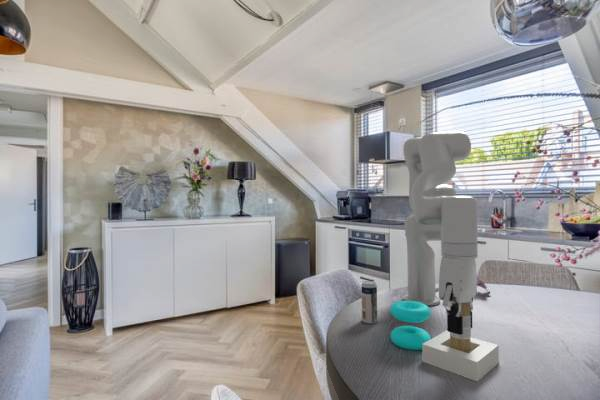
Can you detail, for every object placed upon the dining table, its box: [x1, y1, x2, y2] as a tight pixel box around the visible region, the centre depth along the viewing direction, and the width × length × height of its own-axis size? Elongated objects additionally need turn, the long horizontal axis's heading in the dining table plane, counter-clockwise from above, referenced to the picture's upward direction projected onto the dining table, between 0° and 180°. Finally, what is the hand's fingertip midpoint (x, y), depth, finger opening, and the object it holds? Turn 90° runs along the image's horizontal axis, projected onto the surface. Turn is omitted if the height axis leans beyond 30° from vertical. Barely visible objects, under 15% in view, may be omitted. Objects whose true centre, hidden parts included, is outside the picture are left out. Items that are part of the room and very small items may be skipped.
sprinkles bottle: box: [450, 294, 472, 353], centre depth 78 cm, size 5×5×14 cm
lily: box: [477, 275, 491, 295], centre depth 134 cm, size 12×12×10 cm
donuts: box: [389, 300, 432, 351], centre depth 89 cm, size 10×10×10 cm
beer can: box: [360, 280, 378, 325], centre depth 104 cm, size 5×5×12 cm
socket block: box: [421, 329, 500, 382], centre depth 78 cm, size 12×12×4 cm
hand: (459, 329), depth 78 cm, fingers closed on sprinkles bottle, 4 cm apart
